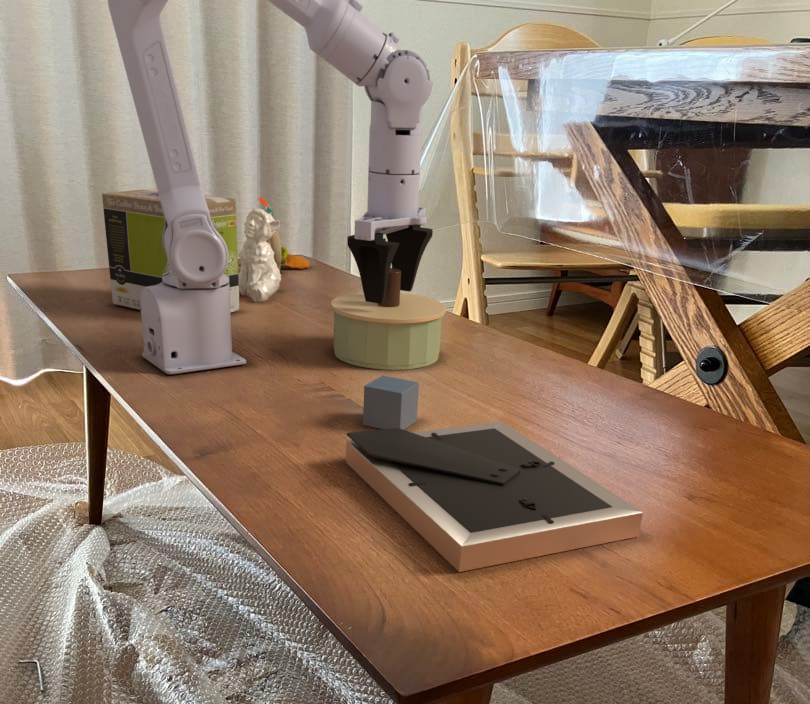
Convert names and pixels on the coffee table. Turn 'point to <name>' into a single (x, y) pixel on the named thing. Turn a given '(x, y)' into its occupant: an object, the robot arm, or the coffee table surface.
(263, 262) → the seated beast figurine
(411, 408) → the block
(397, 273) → the lid
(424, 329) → the green faceted round bowl
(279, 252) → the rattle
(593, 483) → the picture frame
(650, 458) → the coffee table surface
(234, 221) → the tea box
